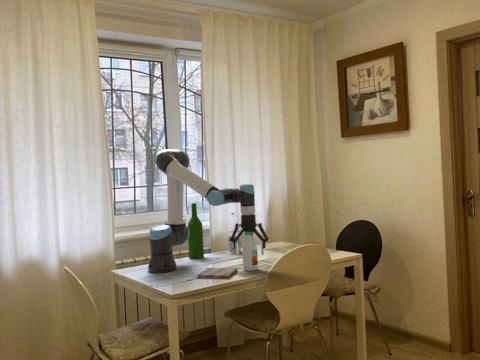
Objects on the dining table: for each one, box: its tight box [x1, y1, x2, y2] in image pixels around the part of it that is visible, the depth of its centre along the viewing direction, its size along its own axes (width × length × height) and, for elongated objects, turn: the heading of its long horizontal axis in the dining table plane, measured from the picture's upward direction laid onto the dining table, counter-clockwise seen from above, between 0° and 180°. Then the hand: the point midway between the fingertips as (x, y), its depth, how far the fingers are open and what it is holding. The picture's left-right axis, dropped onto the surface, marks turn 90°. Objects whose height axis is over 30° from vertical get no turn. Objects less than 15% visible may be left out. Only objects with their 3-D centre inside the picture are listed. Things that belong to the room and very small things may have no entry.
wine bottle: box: [186, 203, 205, 260], centre depth 292 cm, size 9×9×32 cm
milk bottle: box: [241, 231, 259, 272], centre depth 253 cm, size 8×8×20 cm
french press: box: [226, 212, 245, 255], centre depth 302 cm, size 10×12×25 cm
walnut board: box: [196, 267, 238, 280], centre depth 245 cm, size 16×16×2 cm
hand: (249, 254), depth 253 cm, fingers open, 13 cm apart
